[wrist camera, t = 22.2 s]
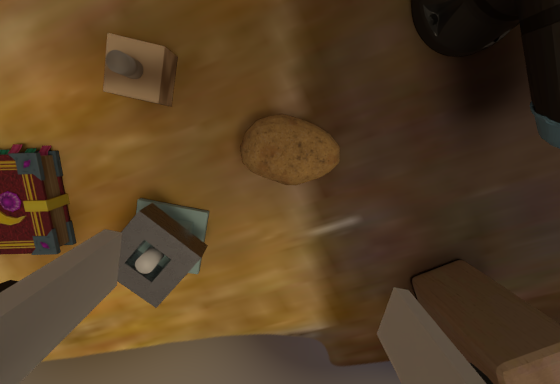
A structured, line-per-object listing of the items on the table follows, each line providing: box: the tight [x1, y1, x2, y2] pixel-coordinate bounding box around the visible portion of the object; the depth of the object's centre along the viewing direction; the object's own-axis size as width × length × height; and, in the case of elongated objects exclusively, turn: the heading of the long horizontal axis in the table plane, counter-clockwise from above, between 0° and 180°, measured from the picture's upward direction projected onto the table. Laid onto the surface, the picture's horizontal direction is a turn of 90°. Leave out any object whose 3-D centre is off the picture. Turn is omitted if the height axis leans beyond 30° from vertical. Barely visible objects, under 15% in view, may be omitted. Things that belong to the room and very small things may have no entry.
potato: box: [240, 114, 340, 185], centre depth 39 cm, size 10×14×8 cm
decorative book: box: [0, 144, 76, 255], centre depth 40 cm, size 11×16×5 cm
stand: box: [103, 33, 178, 107], centre depth 35 cm, size 7×7×9 cm
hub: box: [135, 198, 209, 274], centre depth 40 cm, size 11×11×10 cm
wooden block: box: [412, 260, 560, 384], centre depth 40 cm, size 10×10×20 cm
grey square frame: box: [117, 203, 208, 307], centre depth 38 cm, size 10×10×4 cm
